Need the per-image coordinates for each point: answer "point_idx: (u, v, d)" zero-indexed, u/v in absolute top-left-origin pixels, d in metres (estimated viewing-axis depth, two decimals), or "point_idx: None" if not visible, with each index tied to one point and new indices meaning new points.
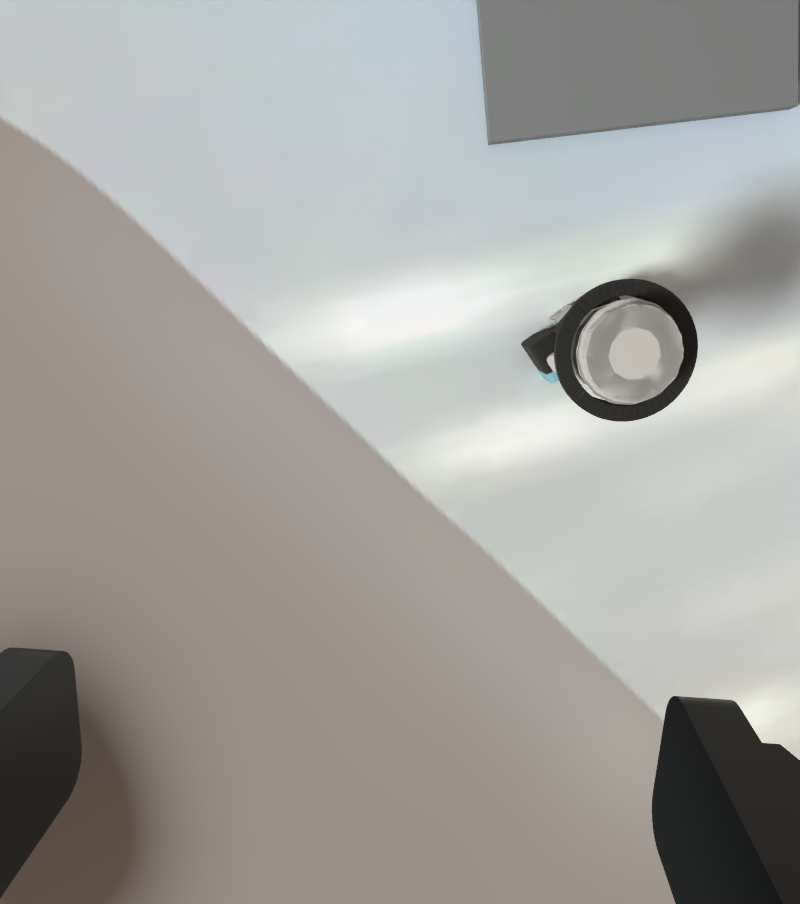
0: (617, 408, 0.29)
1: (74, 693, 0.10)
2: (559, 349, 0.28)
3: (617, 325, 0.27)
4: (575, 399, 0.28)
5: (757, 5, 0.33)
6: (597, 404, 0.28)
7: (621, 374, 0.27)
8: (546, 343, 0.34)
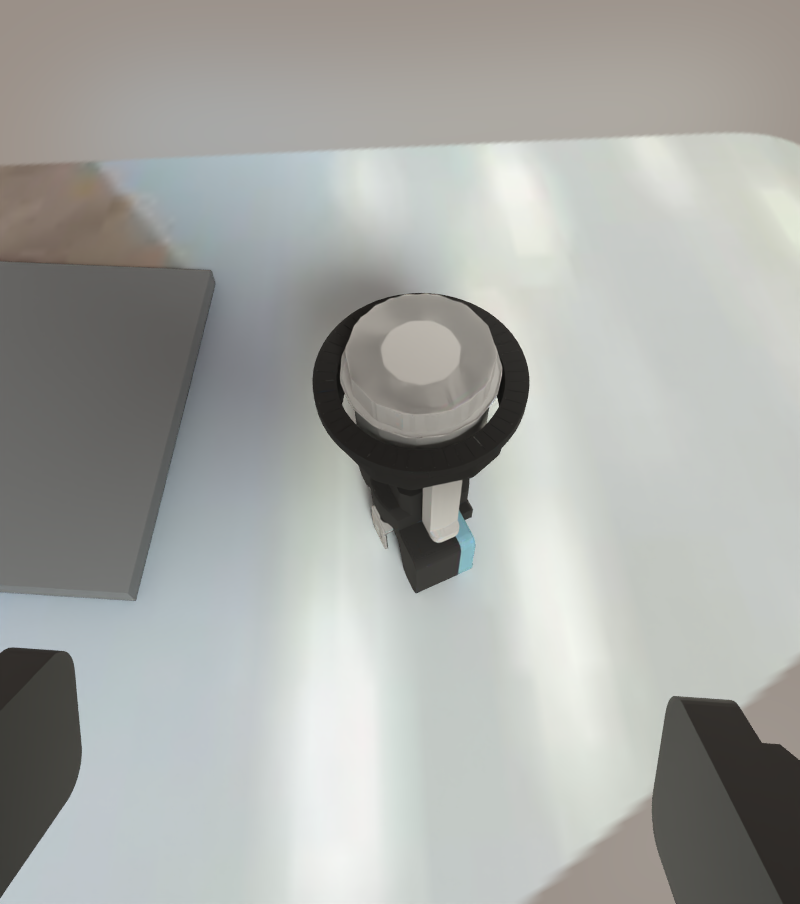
0: (507, 395, 0.18)
1: (74, 693, 0.10)
2: (398, 465, 0.17)
3: (372, 369, 0.17)
4: (483, 451, 0.17)
5: (98, 298, 0.30)
6: (496, 420, 0.18)
7: (449, 370, 0.17)
8: (414, 542, 0.23)
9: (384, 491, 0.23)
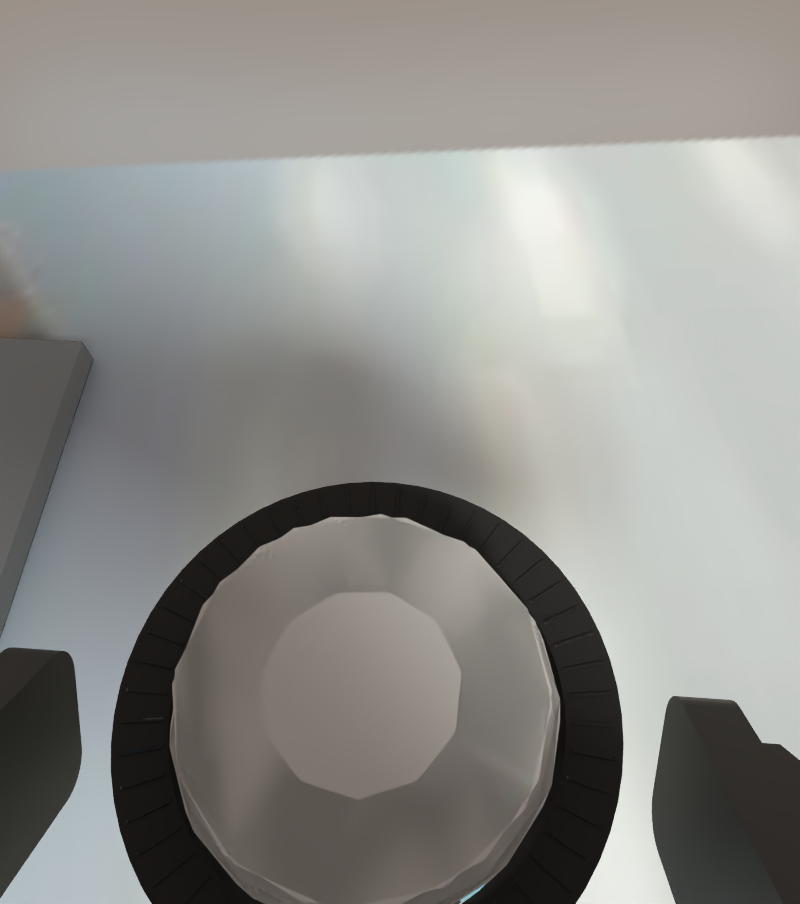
0: (571, 767, 0.08)
1: (74, 693, 0.10)
2: None
3: (234, 743, 0.07)
4: None
5: None
6: (549, 850, 0.07)
7: (432, 750, 0.07)
8: None
9: None
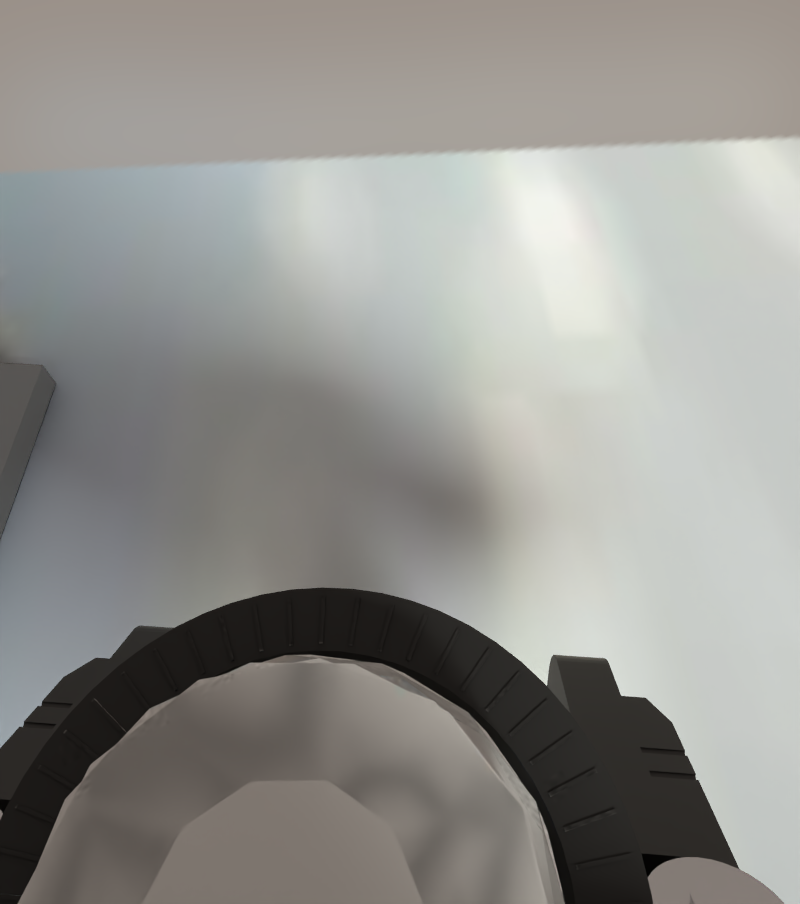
0: None
1: None
2: None
3: None
4: None
5: None
6: None
7: None
8: None
9: None
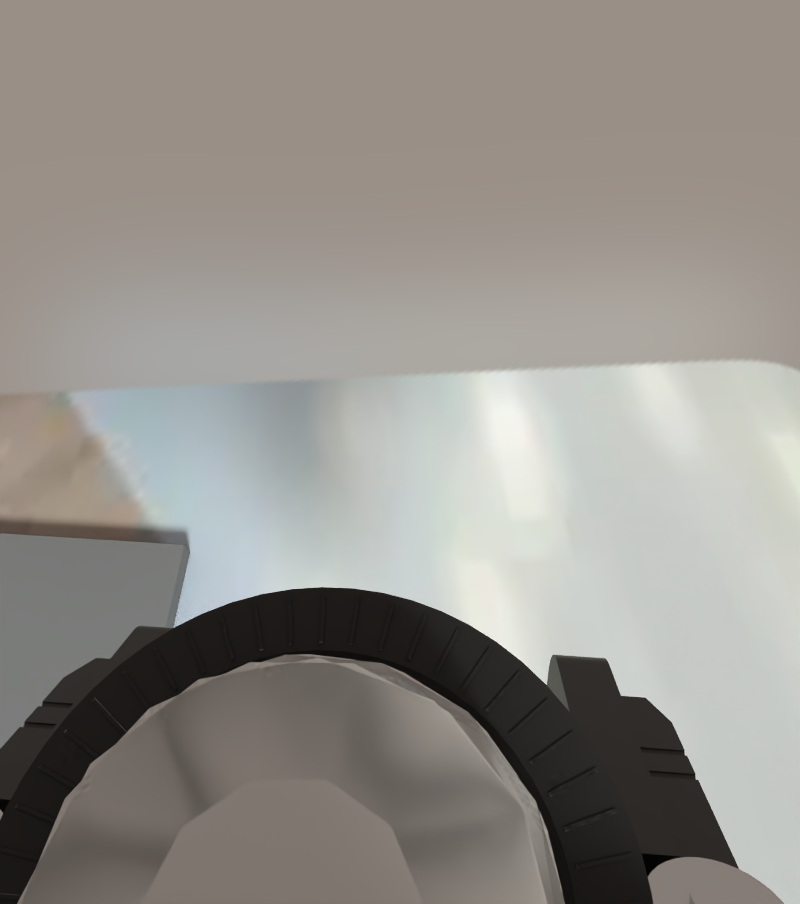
0: None
1: None
2: None
3: None
4: None
5: (63, 581, 0.29)
6: None
7: None
8: None
9: None
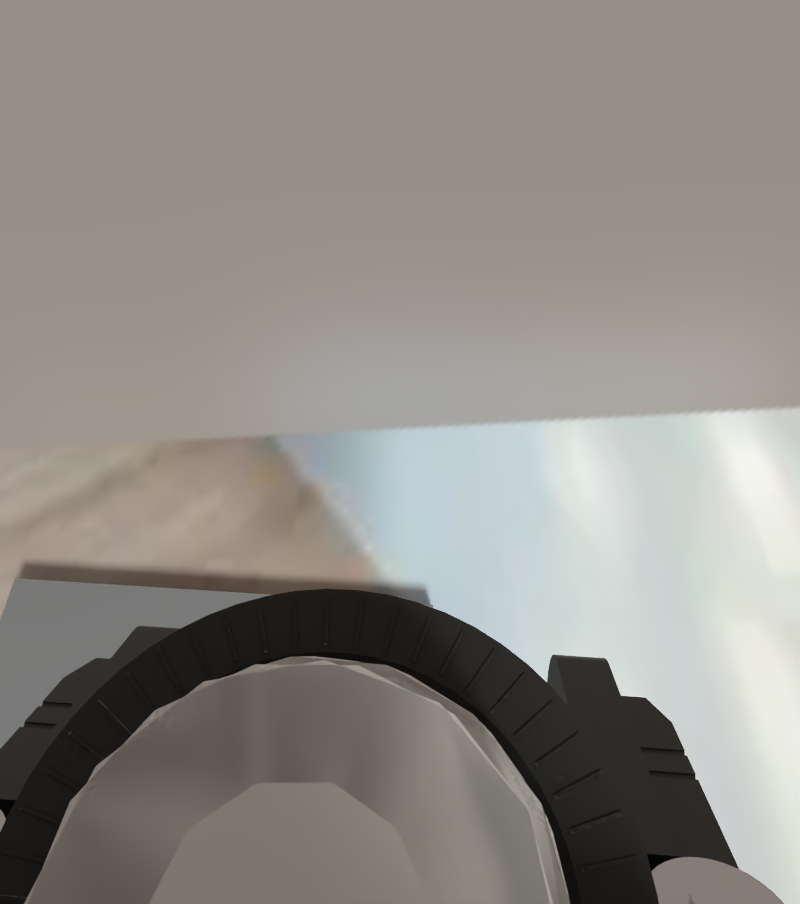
0: None
1: None
2: None
3: None
4: None
5: None
6: None
7: None
8: None
9: None
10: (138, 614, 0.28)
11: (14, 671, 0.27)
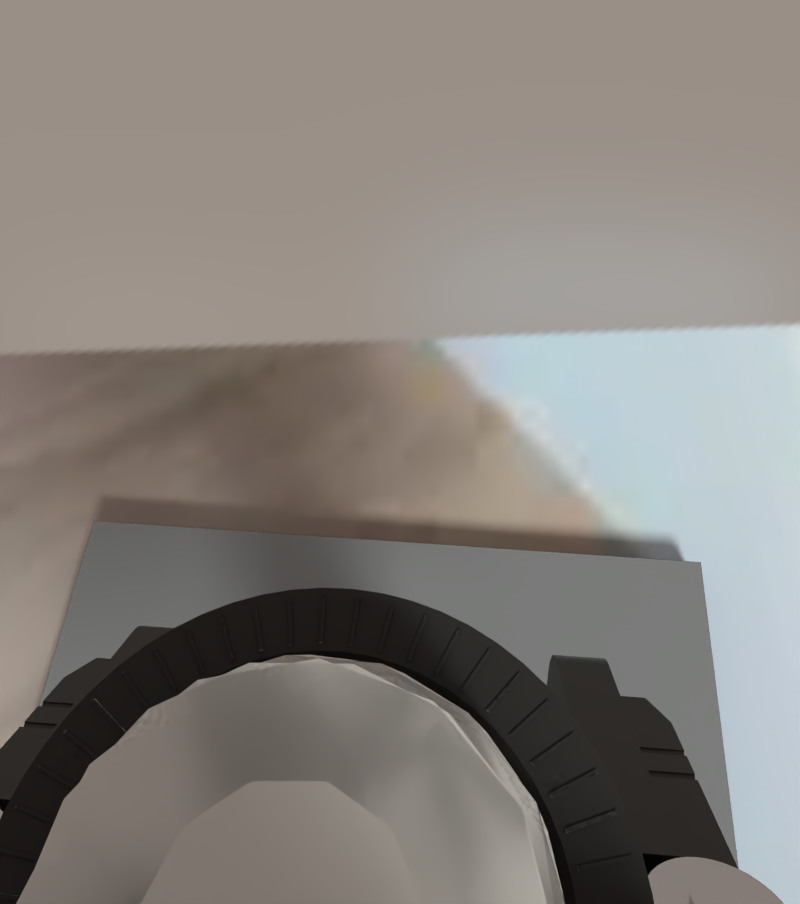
0: None
1: None
2: None
3: None
4: None
5: (533, 618, 0.19)
6: None
7: None
8: None
9: None
10: (278, 573, 0.19)
11: (101, 653, 0.18)
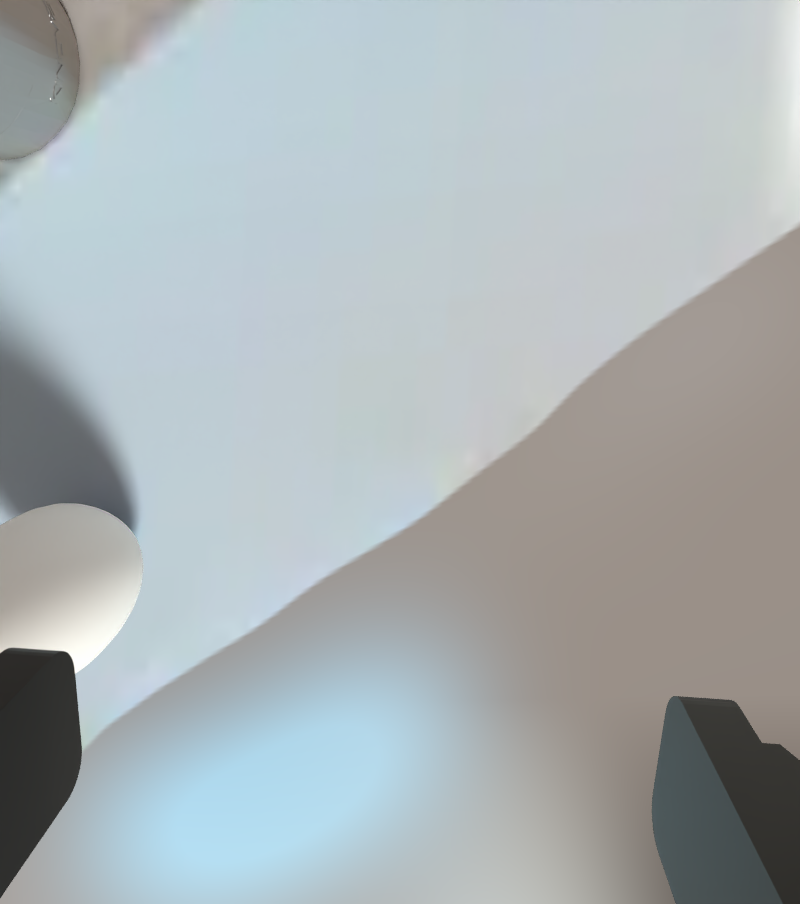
0: None
1: (74, 693, 0.10)
2: None
3: None
4: None
5: None
6: None
7: None
8: None
9: None
10: None
11: None
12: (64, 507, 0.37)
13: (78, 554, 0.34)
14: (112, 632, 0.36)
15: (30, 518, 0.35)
